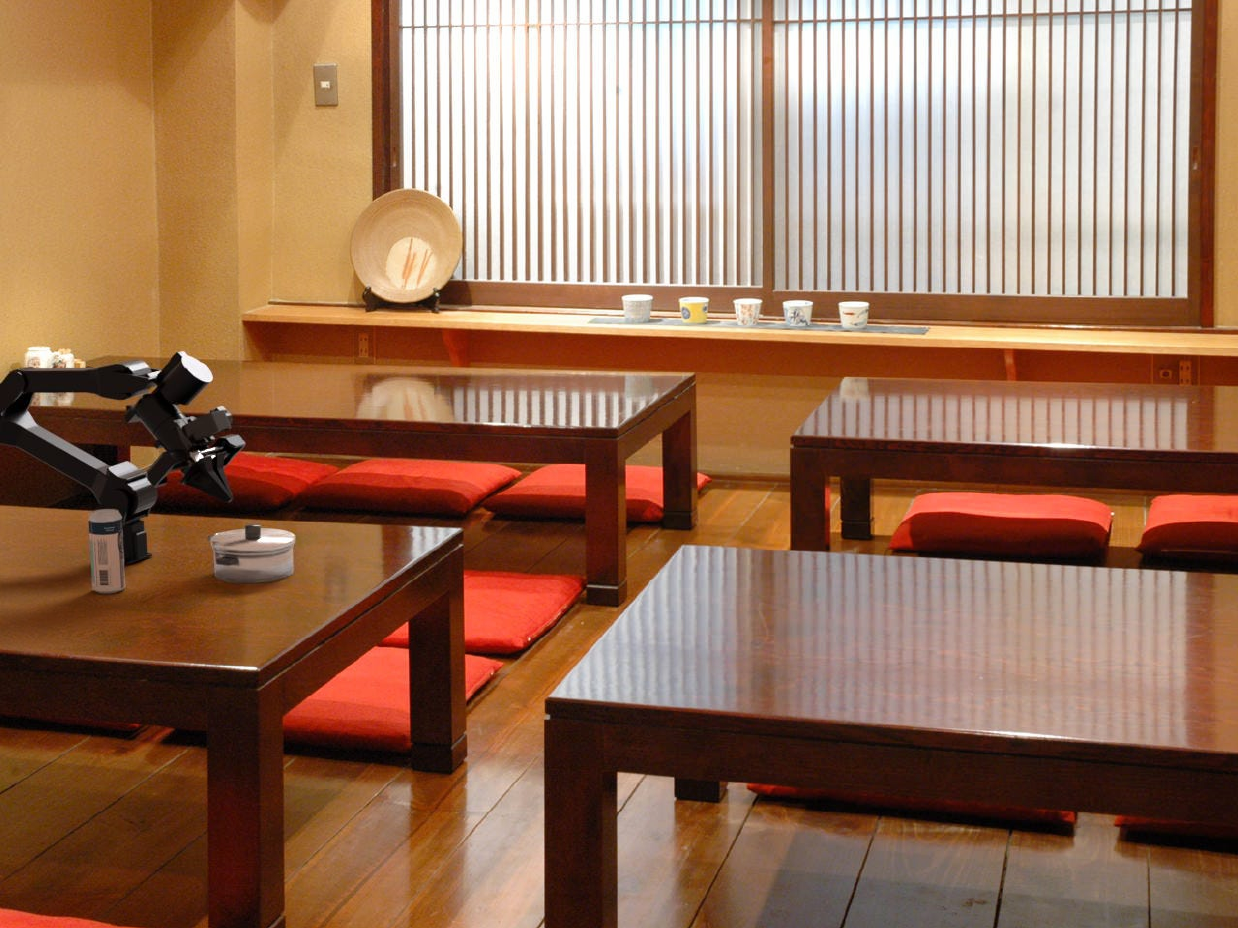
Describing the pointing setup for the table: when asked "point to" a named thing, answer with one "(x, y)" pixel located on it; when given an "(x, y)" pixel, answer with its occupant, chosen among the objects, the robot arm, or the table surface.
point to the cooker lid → (252, 539)
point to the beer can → (106, 551)
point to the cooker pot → (253, 565)
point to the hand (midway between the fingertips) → (230, 500)
